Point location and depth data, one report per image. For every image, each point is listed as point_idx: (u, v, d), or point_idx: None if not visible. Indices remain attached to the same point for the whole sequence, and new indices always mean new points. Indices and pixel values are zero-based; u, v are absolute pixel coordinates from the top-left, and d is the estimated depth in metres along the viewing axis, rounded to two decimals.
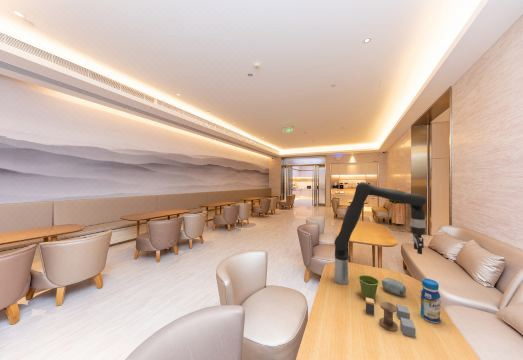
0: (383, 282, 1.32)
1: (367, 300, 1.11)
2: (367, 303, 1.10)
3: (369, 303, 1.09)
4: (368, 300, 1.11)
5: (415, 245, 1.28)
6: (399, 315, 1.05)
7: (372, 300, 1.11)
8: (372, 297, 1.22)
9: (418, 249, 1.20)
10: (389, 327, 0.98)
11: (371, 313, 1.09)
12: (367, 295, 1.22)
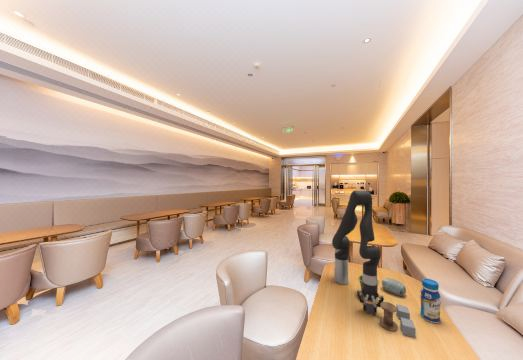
0: (383, 282, 1.32)
1: (367, 300, 1.11)
2: (367, 303, 1.10)
3: (369, 303, 1.09)
4: (368, 300, 1.11)
5: (365, 306, 1.11)
6: (399, 315, 1.05)
7: None
8: None
9: (375, 309, 1.09)
10: (389, 327, 0.98)
11: (371, 313, 1.09)
12: None
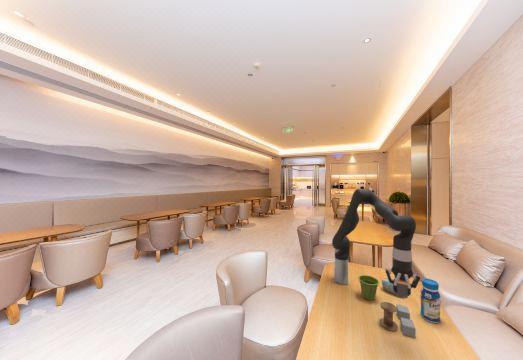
0: (383, 282, 1.32)
1: (399, 280, 0.93)
2: (399, 283, 0.92)
3: (401, 283, 0.91)
4: (400, 280, 0.93)
5: (396, 287, 0.94)
6: (399, 315, 1.05)
7: None
8: (372, 297, 1.22)
9: (409, 290, 0.91)
10: (389, 327, 0.98)
11: (404, 295, 0.91)
12: (367, 295, 1.22)
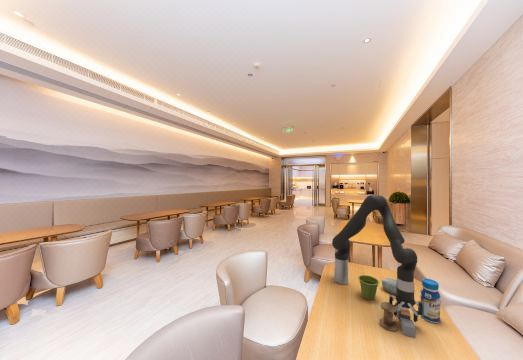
0: (383, 282, 1.32)
1: (402, 311, 1.02)
2: (402, 314, 1.01)
3: (405, 314, 1.00)
4: (403, 311, 1.02)
5: (396, 312, 1.03)
6: (399, 315, 1.05)
7: (408, 311, 1.02)
8: (372, 297, 1.22)
9: (416, 317, 0.99)
10: (389, 327, 0.98)
11: None
12: (367, 295, 1.22)
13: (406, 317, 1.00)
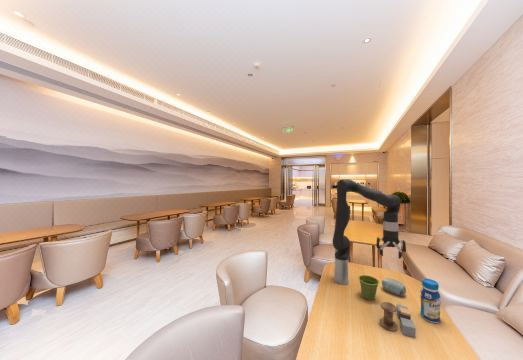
0: (383, 282, 1.32)
1: (402, 311, 1.02)
2: (402, 314, 1.01)
3: (405, 314, 1.00)
4: (403, 311, 1.02)
5: (382, 251, 1.15)
6: (399, 315, 1.05)
7: (408, 311, 1.02)
8: (372, 297, 1.22)
9: (400, 254, 1.11)
10: (389, 327, 0.98)
11: None
12: (367, 295, 1.22)
13: (406, 317, 1.00)
